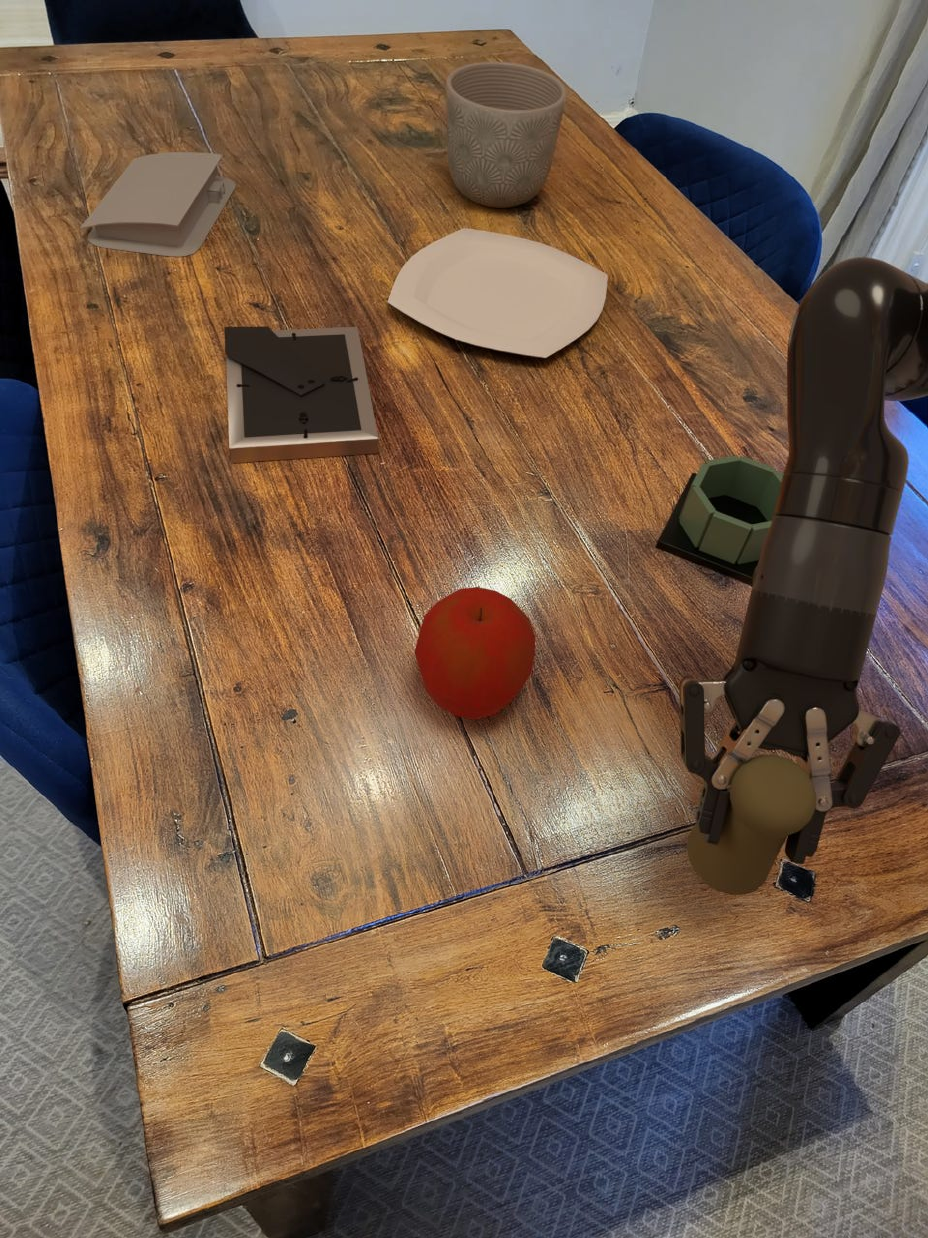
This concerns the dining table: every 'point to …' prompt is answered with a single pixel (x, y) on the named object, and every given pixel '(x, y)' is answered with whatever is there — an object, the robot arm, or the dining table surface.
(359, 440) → the face-down photo frame
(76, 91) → the dining table surface
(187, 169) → the book
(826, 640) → the robot arm
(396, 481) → the dining table surface
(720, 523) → the cup holder
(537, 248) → the plate
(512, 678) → the apple
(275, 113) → the dining table surface
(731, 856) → the cork
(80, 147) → the dining table surface
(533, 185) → the planter
